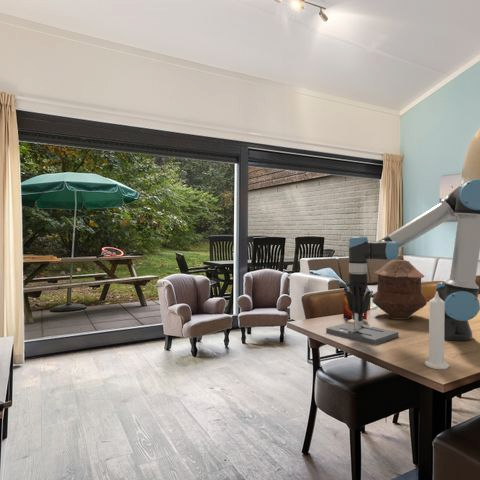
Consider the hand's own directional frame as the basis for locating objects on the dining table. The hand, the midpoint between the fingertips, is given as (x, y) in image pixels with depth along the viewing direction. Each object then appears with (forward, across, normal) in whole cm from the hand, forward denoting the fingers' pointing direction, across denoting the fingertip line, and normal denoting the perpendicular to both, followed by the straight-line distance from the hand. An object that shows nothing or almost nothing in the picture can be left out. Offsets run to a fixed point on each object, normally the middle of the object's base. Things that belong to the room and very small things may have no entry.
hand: (357, 328), depth 161 cm
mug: (+4, +20, -30) cm, 36 cm away
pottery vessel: (+4, +8, -49) cm, 50 cm away
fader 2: (+2, +2, 0) cm, 3 cm away
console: (+4, +1, -5) cm, 6 cm away
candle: (+4, -37, +10) cm, 38 cm away
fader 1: (+2, +6, -9) cm, 11 cm away
